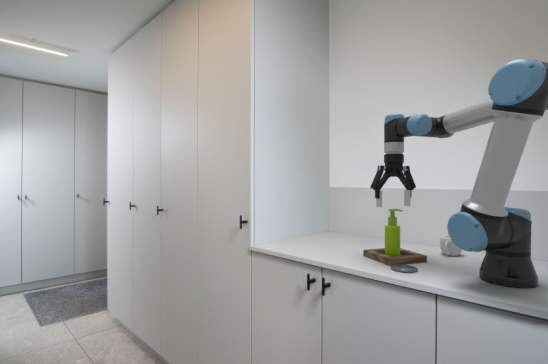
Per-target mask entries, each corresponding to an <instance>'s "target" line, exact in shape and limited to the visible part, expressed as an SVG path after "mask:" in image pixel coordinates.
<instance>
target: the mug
mask: <svg viewBox="0 0 548 364" xmlns="http://www.w3.org/2000/svg"><path fill="white" fill-rule="evenodd" d="M439 246H440V250H441V253H442V254H443V255H445V256H449V257H459V256H460V255H461V254H462V251H463V250H462V249H460V248H459V247H457V246H456V245H455V244H454V243H453V242H452V240H451V237H450V236H449V234H442V235H441V236H440V237H439Z"/></svg>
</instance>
